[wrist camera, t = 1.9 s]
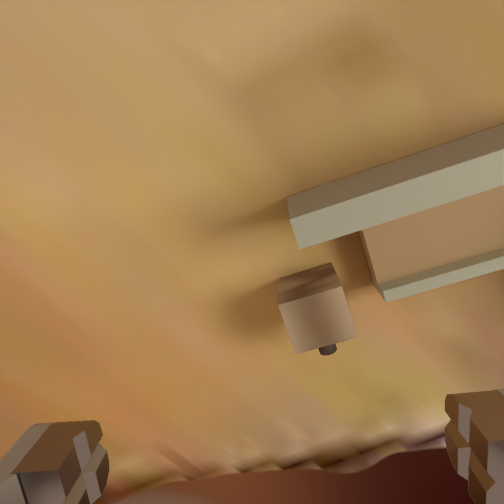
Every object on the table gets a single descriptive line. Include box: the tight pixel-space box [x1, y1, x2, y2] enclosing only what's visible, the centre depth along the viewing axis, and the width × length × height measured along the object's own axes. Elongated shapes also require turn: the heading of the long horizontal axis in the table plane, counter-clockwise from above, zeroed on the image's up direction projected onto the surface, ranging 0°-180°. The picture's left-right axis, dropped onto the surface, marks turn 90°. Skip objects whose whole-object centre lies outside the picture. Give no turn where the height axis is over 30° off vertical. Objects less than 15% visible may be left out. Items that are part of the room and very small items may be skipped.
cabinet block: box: [278, 263, 358, 355], centre depth 33 cm, size 5×5×6 cm
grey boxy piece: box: [286, 124, 504, 302], centre depth 28 cm, size 22×10×10 cm, turn 109°
